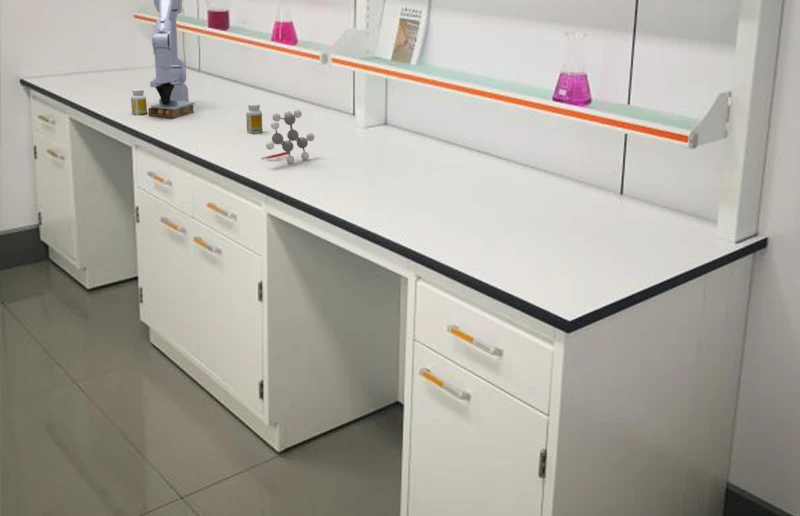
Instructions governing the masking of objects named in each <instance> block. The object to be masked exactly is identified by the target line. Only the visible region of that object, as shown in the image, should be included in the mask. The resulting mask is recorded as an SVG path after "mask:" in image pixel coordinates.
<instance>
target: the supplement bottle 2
mask: <svg viewBox="0 0 800 516" xmlns="http://www.w3.org/2000/svg"><path fill="white" fill-rule="evenodd" d="M247 109H248V110H246V115H245V116H246V117H245V118H246V132H247V133H248V134H260V133H262V132H263V112H262V110H261V105H260V104H259V103H248V105H247Z"/></svg>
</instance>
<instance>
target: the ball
mask: <svg viewBox="0 0 800 516" xmlns="http://www.w3.org/2000/svg"><path fill="white" fill-rule="evenodd" d="M157 113H158V114H161V115H164V114H165V110H164V109H161V108H159V109H158V110H157Z"/></svg>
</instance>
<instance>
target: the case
mask: <svg viewBox="0 0 800 516" xmlns="http://www.w3.org/2000/svg"><path fill="white" fill-rule="evenodd" d="M158 109H159V108H152V107H151V106H150V107H147V112H148V117H150V118H159V119H166V120H167V119H168V120H174V119H177V118H181V117H184V116H188V115H190V114H194V104H193V105H189V106H186V107H182V108H179V109H175V110H170V111H169V115H166V113H165V114H164V115H161V114H158V113H157V110H158ZM164 110H165V112H166V110H168V109H164Z"/></svg>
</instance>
